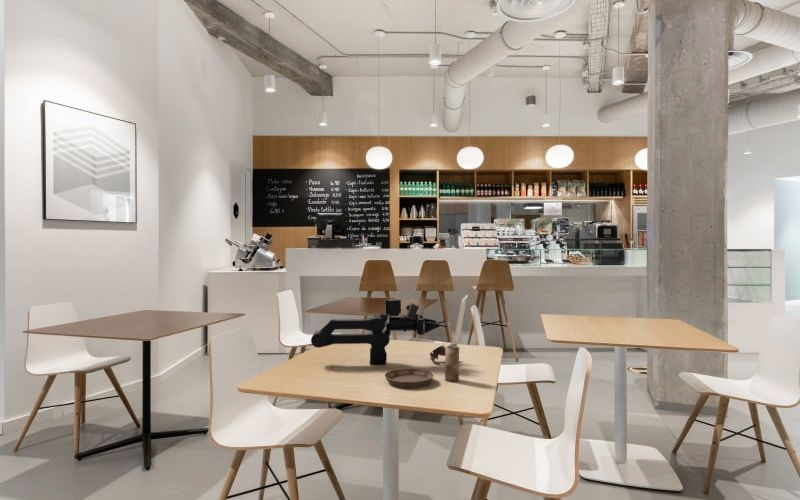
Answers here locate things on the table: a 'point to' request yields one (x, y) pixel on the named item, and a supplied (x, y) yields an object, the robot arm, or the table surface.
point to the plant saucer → (409, 377)
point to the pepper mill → (452, 362)
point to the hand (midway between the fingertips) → (437, 323)
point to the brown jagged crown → (437, 353)
